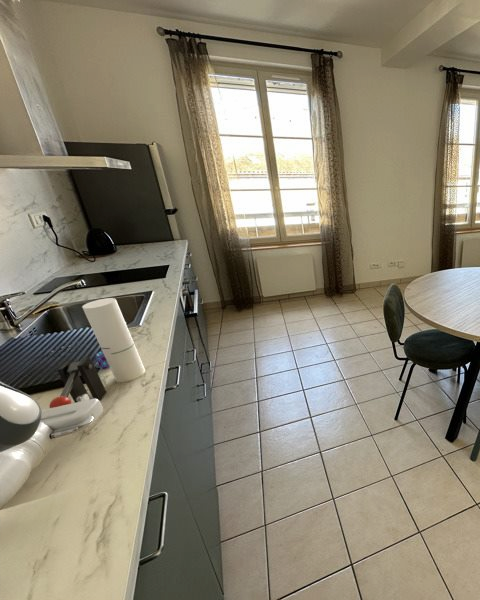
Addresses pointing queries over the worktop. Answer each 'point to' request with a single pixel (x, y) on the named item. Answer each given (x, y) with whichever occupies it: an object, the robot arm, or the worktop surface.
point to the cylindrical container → (114, 339)
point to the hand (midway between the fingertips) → (60, 402)
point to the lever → (67, 387)
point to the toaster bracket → (88, 376)
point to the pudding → (101, 360)
